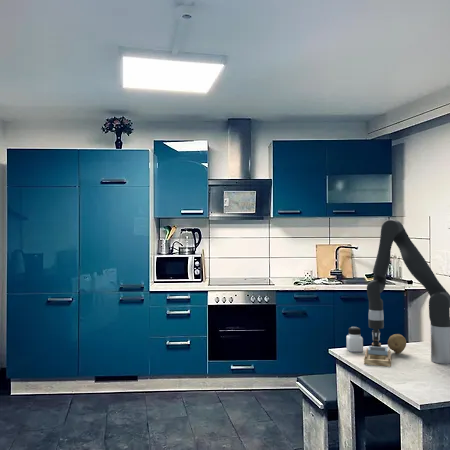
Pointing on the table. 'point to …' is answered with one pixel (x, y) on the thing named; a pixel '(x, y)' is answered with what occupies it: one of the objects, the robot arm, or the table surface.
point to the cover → (378, 350)
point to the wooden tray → (377, 359)
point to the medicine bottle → (354, 340)
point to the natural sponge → (397, 343)
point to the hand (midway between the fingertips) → (376, 350)
